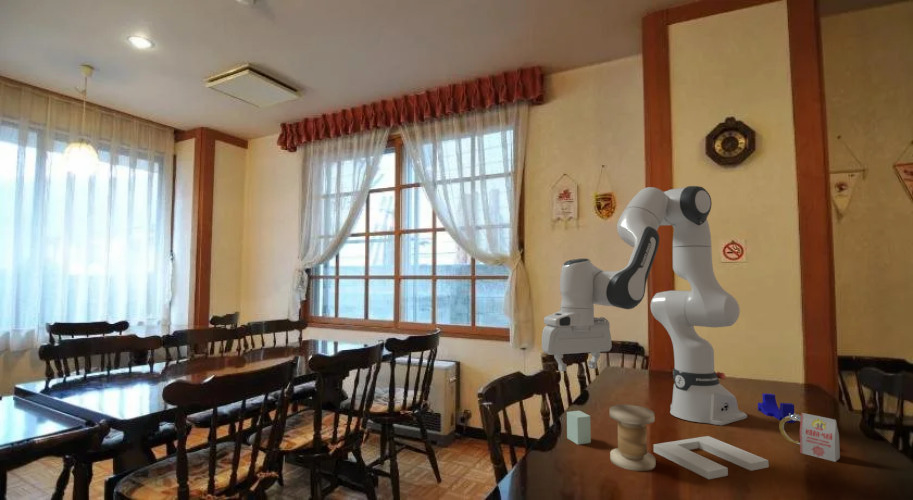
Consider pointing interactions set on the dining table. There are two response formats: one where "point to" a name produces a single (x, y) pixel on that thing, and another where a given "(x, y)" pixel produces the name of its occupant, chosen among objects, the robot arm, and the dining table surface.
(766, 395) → the cable clip
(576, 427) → the pale green block
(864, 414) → the dining table surface
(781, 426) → the ring
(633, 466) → the bobbin
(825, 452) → the tea bag
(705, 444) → the u-shaped core
